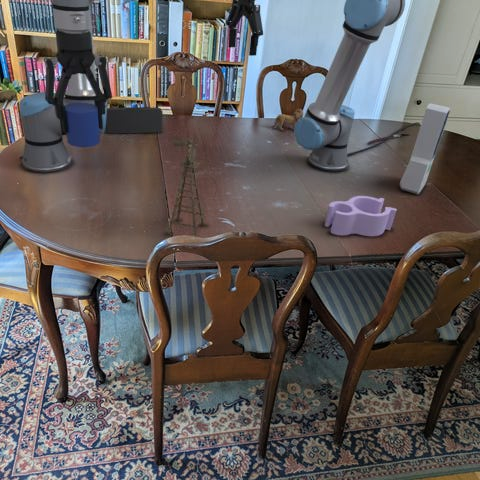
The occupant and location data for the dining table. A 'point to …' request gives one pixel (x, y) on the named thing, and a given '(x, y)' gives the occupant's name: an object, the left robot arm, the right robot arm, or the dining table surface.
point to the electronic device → (425, 148)
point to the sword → (385, 138)
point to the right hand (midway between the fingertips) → (241, 51)
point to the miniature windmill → (187, 165)
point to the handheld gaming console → (134, 120)
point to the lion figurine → (289, 119)
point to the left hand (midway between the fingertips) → (82, 129)
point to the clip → (359, 216)
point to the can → (82, 124)
